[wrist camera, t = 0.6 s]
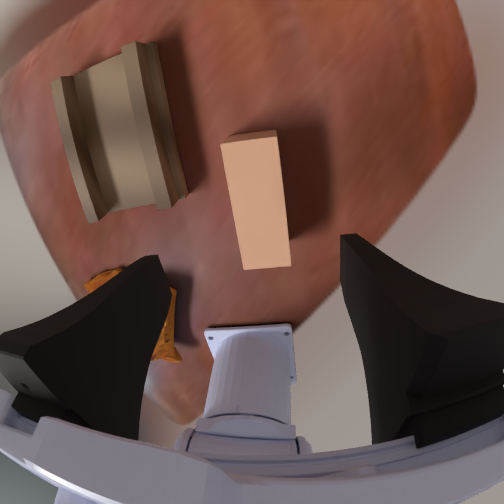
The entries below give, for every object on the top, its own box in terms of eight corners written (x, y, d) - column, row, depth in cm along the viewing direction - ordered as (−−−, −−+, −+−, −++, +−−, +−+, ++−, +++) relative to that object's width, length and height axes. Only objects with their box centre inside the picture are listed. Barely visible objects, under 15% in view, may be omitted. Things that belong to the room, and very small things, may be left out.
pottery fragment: (108, 362, 27) (59, 302, 20) (119, 329, 30) (80, 265, 24) (195, 370, 26) (162, 305, 20) (201, 332, 30) (175, 261, 23)
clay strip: (288, 239, 21) (291, 265, 18) (248, 243, 22) (243, 269, 19) (276, 129, 17) (276, 136, 14) (229, 135, 18) (220, 144, 15)
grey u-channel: (188, 194, 20) (179, 206, 18) (98, 211, 21) (83, 224, 19) (157, 43, 14) (142, 38, 12) (65, 83, 15) (46, 85, 13)
